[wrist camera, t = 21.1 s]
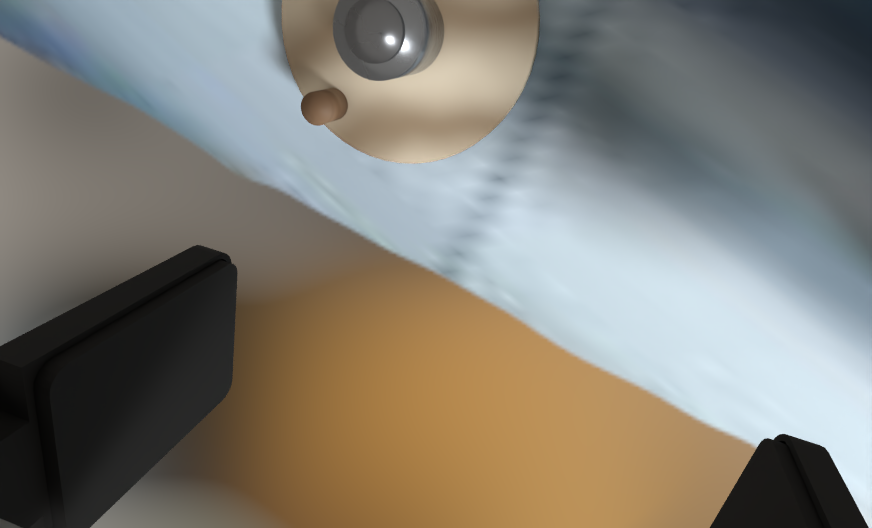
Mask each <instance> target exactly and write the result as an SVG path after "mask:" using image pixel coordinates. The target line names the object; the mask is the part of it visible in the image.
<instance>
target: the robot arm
mask: <svg viewBox="0 0 872 528" xmlns="http://www.w3.org/2000/svg"><path fill="white" fill-rule="evenodd" d="M236 289H237V268H236V266H235V265H234V264H231V259H230V257H229V256H228V255H227V254H225V253H222V252H219V251H216V250H213V249H210V248H207V247H204V246H200V245H196V246H193V247H191V248H189V249H187V250H185V251H183V252H181V253H179V254H177V255H176V256H174V257H172V258H170V259H168V260H166V261H164V262H162V263H160V264H158V265H156V266H154V267H152V268H150V269H149V270H147V271H145V272H143V273H141V274H139V275H137V276H135V277H133V278H131V279H129V280H128V281H125V282H123V283H121V284H119V285H118V286H116V287H114V288H112V289H110V290H108V291H106V292H104V293H102V294H100V295H98V296H97V297H94V298H92V299H91V300H89V301H87V302H85V303H83V304H81V305H79V306H77V307H75V308H73V309H71V310H69V311H67V312H65V313H63V314H62V315H60V316H58V317H56V318H54V319H52V320H50V321H48V322H46V323H44V324H42V325H41V326H38V327H36V328H35V329H33V330H31V331H29V332H27V333H25V334H23V335H21V336H19V337H17V338H16V339H13V340H11V341H10V342H8V343H6V344H4V345H2V346H0V528H90V527H91V526H92V525H93V524H94V523H95V522H96V521H97V520H98V519H99V518H100V517H101V516H102V515H103V514H104V513H105V512H106V511H107V510H109V509H110V508H111V507H112V506H113V505H114V504H115V503H116V502H117V501H118V500H119V499H120V498H121V497H122V496H123V495H124V494H125V493H126V492H127V491H128V490H129V489H130V488H131V487H132V486H133V485H135V484H136V483H137V482H138V481H139V480H140V479H141V478H142V477H143V476H144V475H145V474H146V473H147V472H148V471H149V470H150V469H151V468H152V467H153V466H154V465H155V464H156V463H158V461H160V460H161V459H162V458H163V457H164V456H165V455H166V454H167V453H168V452H169V451H170V450H171V449H172V448H173V447H174V446H175V445H176V444H177V443H178V442H179V441H180V440H181V439H183V438H184V437H185V436H186V434H188V433H189V432H190V431H191V430H192V429H193V428H194V427H195V426H196V425H197V424H198V423H199V422H200V421H201V420H202V419H203V418H204V417H205V416H206V415H207V414H208V413H210V412H211V411H212V410H213V409H214V408H215V407H216V406H217V405H218V404H219V403H220V402H221V401H222V400H223V399H224V398H225V397H226V395H227V393H228V391H229V389H230V387H231V383H232V372H233V353H234V332H235V311H236ZM710 528H869V527H868V526H867V524H866V522H865V520H864V518H863V516H862V514H861V512H860V511H859V509H858V507H857V505H856V503H855V501H854V499H853V497H852V496H851V494H850V492H849V490H848V488H847V486H846V484H845V482H844V481H843V479H842V477H841V475H840V473H839V471H838V469H837V467H836V466H835V464H834V462H833V460H832V458H831V456H830V454H829V453H828V451H827V450H826V449H825V448H824V447H822V446H820V445H817V444H814V443H811V442H808V441H805V440H802V439H798V438H795V437H792V436H789V435H786V434H780V435H778V436H777V437H775V438H774V440H772V439H769V438H767V439H764V440H763V441H761V443H760V444H759V445H758V447H757V449H756V451H755V452H754V454H753V456H752V457H751V459H750V461H749V462H748V464H747V466H746V467H745V469H744V471H743V472H742V474H741V476H740V478H739V479H738V481H737V483H736V484H735V486H734V488H733V489H732V491H731V493H730V494H729V496H728V498H727V500H726V501H725V503H724V505H723V507H722V508H721V510H720V511H719V513H718V515H717V517H716V518H715V520H714V522H713V523H712V525H711V527H710Z"/></svg>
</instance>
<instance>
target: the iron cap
mask: <svg viewBox="0 0 872 528" xmlns="http://www.w3.org/2000/svg"><path fill="white" fill-rule="evenodd" d="M333 37H334V42H335V45H336V48H337V51H338V53H339V55H340V57H341V59H342V60H343V61H344V63H345V64H346V65H347V66H348V67H349V68H350V69H351V70H352V71H353V72H354V73H356V74H357V75H359V76H361V77H363V78H365V79H368V80H373V81H385V80H390V79H395V78H400V77H404V76H409V75H413V74H417V73H419V72H422V71H423V70H425V69H426V68H428V67H429V66H430V65H431V64H432V63H433V62H434V61H435V59H436V58H437V56H438V54H439V53H440V50H441V48H442V44H443V40H444V22H443V17H442V14H441V12H440V9H439V7H438V5H437V4H436V2H435V1H434V0H339V2H338V4H337V7H336V9H335V13H334V18H333Z"/></svg>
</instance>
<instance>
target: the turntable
mask: <svg viewBox="0 0 872 528" xmlns="http://www.w3.org/2000/svg"><path fill="white" fill-rule="evenodd" d="M434 1H435V2H436V4H437V5H438V7H439V9H440V12H441V14H442V17H443V22H444V40H443V44H442V48H441V50H440V53H439V54H438V56H437V58H436V59H435V61H434V62H433V63H432V64H431V65H430V66H429V67H428V68H426V69H425V70H423V71H422V72H419V73H417V74H413V75H409V76H404V77H400V78H395V79H390V80H385V81H373V80H368V79H365V78H363V77H361V76H359V75H357V74H356V73H354V72H353V71H352V70H351V69H350V68H349V67H348V66H347V65H346V64H345V63H344V61H343V60H342V59H341V57H340V55H339V53H338V51H337V48H336V45H335V42H334V37H333V18H334V13H335V9H336V7H337V4H338V2H339V0H282V31H283V40H284V46H285V50H286V55H287V59H288V62H289V65H290V68H291V71H292V74H293V77H294V79H295V81H296V83H297V85H298V87H299V90H300V92H301V93H302V95H303V97H304V98H303V99H302V102H301V111H302V114H303V116H304V118H305V119H306V120H307V121H308V122H309V123H311V124H313V125H323V124H324V125H325V126H326V127H327V128H328V129H329V130H330V131H331V132H333V133H334V134H335V135H336V136H337V137H339V138H340V139H341V140H342V141H344V142H345V143H347V144H349V145H350V146H352V147H353V148H355V149H357V150H359V151H361V152H363V153H365V154H367V155H370V156H372V157H376V158H379V159H382V160H385V161H391V162H397V163H412V164H416V163H426V162H433V161H437V160H441V159H445V158H448V157H450V156H453V155H455V154H458V153H460V152H462V151H464V150H466V149H467V148H469V147H471V146H473V145H474V144H476V143H477V142H478V141H480V140H481V139H482V138H484V137H485V136H486V135H488V134H489V133H490V132H491V131H492V130H493V129H494V128H495V127H496V126H497V125H498V124H499V123H500V122H501V121H502V120H503V119H504V118H505V117H506V116H507V114H508V113H509V112H510V110H511V109H512V108H513V107H514V105H515V104H516V102H517V100H518V98H519V97H520V95H521V93H522V92H523V90H524V88H525V85H526V83H527V81H528V78H529V76H530V74H531V71H532V67H533V64H534V60H535V57H536V52H537V46H538V40H539V27H540V12H539V0H434Z"/></svg>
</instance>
